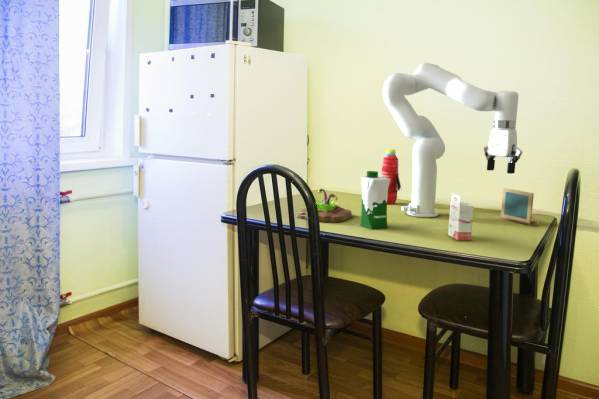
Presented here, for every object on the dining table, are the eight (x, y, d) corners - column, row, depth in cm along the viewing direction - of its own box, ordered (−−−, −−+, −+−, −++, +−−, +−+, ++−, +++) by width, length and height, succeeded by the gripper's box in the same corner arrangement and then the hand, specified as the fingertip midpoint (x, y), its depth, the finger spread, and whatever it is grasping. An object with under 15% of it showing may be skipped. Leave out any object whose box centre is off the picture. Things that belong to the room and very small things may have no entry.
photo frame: (532, 193, 186) (542, 192, 188) (503, 188, 199) (512, 187, 201) (529, 223, 188) (539, 222, 190) (500, 216, 201) (510, 215, 203)
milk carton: (376, 223, 190) (378, 170, 187) (391, 227, 182) (393, 173, 179) (356, 225, 186) (358, 171, 183) (371, 230, 178) (373, 174, 175)
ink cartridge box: (471, 240, 165) (475, 196, 162) (457, 241, 164) (460, 196, 162) (461, 234, 173) (464, 192, 171) (447, 234, 173) (450, 192, 170)
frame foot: (532, 226, 188) (533, 221, 188) (502, 218, 202) (502, 214, 201) (537, 225, 189) (537, 221, 189) (506, 218, 203) (506, 213, 202)
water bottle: (406, 205, 229) (409, 150, 225) (394, 206, 224) (396, 150, 220) (387, 201, 239) (389, 148, 234) (375, 202, 234) (377, 149, 230)
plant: (315, 210, 214) (316, 184, 212) (357, 215, 204) (358, 188, 202) (291, 218, 197) (291, 189, 195) (335, 224, 187) (336, 194, 185)
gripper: (479, 124, 191) (475, 169, 194) (516, 126, 175) (511, 175, 178) (494, 124, 194) (490, 168, 197) (531, 126, 179) (526, 174, 182)
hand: (500, 171), depth 188 cm, fingers open, 9 cm apart
